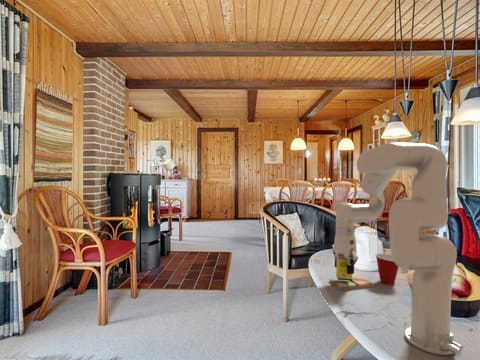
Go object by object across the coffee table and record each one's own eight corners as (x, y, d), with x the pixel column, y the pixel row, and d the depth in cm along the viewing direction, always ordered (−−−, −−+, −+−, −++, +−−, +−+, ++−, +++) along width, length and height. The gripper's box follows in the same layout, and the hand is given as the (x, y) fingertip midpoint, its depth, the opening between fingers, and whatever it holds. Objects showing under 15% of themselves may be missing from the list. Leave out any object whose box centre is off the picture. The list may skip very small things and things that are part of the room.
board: (374, 286, 124) (374, 282, 124) (342, 290, 119) (343, 286, 119) (358, 278, 133) (359, 274, 133) (329, 281, 129) (329, 277, 129)
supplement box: (352, 281, 121) (353, 255, 121) (337, 279, 123) (338, 254, 122) (349, 276, 127) (350, 252, 127) (336, 275, 128) (336, 251, 128)
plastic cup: (406, 287, 124) (407, 259, 124) (382, 286, 124) (382, 259, 123) (393, 277, 135) (393, 252, 134) (370, 277, 135) (371, 252, 134)
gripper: (365, 234, 117) (364, 276, 117) (340, 226, 134) (339, 263, 134) (350, 235, 115) (349, 278, 115) (326, 227, 132) (325, 264, 132)
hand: (344, 270), depth 125 cm, fingers closed on supplement box, 8 cm apart
